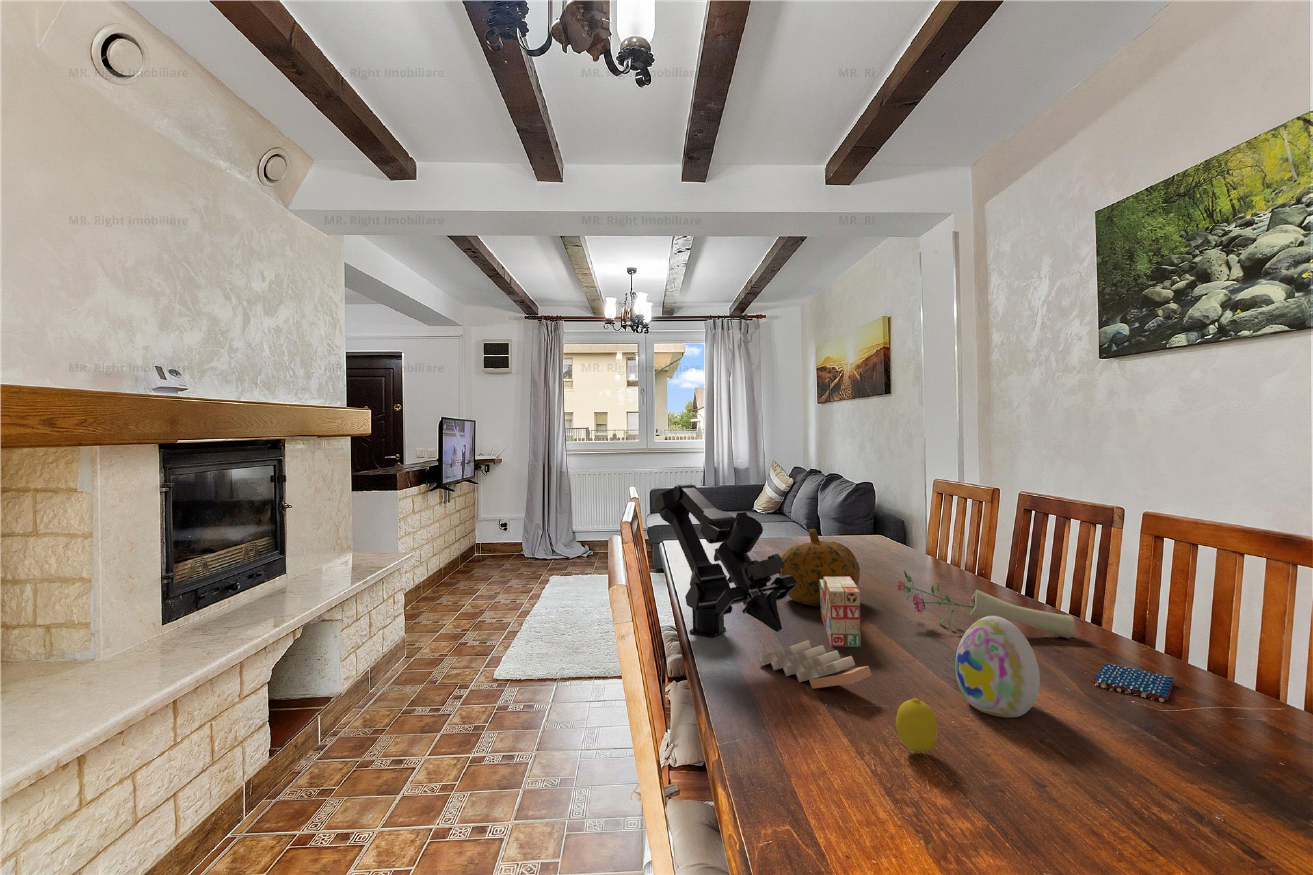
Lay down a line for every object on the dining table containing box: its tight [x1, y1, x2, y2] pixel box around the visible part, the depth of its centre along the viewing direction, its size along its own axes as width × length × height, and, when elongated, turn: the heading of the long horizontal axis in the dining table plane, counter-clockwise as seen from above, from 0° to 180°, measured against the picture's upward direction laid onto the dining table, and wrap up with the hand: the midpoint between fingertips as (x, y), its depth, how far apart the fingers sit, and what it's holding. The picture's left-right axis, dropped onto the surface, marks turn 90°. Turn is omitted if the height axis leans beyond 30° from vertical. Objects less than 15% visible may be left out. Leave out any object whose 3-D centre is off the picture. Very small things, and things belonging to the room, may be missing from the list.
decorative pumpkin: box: [778, 528, 861, 607], centre depth 163 cm, size 20×21×20 cm
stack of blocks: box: [819, 577, 862, 648], centre depth 140 cm, size 21×6×12 cm, turn 171°
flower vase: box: [896, 569, 1075, 640], centre depth 137 cm, size 12×12×35 cm
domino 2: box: [770, 644, 827, 671], centre depth 116 cm, size 2×5×10 cm
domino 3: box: [782, 649, 842, 677], centre depth 113 cm, size 2×5×10 cm
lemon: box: [895, 697, 939, 755], centre depth 87 cm, size 6×6×8 cm
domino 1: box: [757, 639, 812, 666], centre depth 119 cm, size 2×5×10 cm
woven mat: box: [1091, 662, 1176, 703], centre depth 107 cm, size 10×11×2 cm
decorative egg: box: [954, 616, 1041, 718], centre depth 101 cm, size 12×12×15 cm
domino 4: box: [795, 655, 856, 683], centre depth 111 cm, size 2×5×10 cm
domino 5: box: [809, 665, 873, 689], centre depth 108 cm, size 2×5×10 cm
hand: (779, 630), depth 119 cm, fingers closed
